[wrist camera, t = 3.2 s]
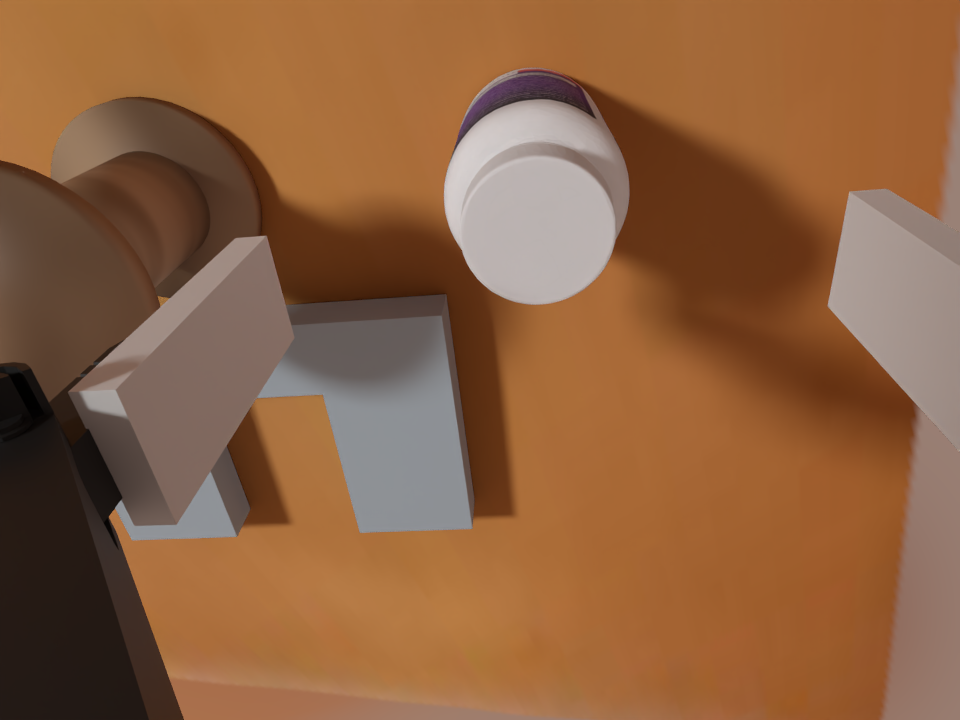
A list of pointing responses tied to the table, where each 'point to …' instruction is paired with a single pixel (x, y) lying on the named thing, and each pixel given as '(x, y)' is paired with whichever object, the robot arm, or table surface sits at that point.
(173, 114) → the bobbin
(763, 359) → the table surface
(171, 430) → the robot arm
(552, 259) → the pill bottle
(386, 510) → the notched board
